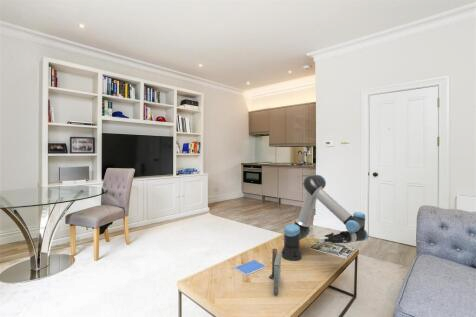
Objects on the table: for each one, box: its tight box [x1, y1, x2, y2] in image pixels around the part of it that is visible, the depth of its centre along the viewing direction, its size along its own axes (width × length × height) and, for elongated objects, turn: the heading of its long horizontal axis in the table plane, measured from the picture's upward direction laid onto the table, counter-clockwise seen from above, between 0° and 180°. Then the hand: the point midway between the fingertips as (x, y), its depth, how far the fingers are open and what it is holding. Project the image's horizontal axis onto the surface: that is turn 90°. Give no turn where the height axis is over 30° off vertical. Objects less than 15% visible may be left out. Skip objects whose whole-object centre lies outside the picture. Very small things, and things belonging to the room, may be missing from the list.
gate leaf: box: [273, 252, 282, 294], centre depth 142 cm, size 20×3×16 cm, turn 165°
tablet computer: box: [234, 259, 267, 276], centre depth 165 cm, size 19×13×1 cm, turn 129°
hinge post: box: [268, 248, 278, 280], centre depth 152 cm, size 5×5×18 cm
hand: (319, 240), depth 153 cm, fingers closed
